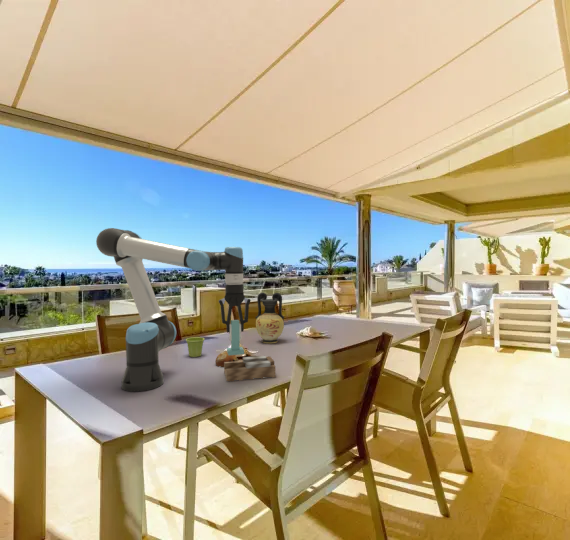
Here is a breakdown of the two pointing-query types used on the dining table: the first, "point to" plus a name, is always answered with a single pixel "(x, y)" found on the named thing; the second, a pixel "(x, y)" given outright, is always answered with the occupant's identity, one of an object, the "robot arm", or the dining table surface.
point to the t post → (235, 340)
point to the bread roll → (225, 358)
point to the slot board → (249, 368)
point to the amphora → (269, 318)
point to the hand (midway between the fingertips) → (235, 339)
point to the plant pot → (195, 346)
